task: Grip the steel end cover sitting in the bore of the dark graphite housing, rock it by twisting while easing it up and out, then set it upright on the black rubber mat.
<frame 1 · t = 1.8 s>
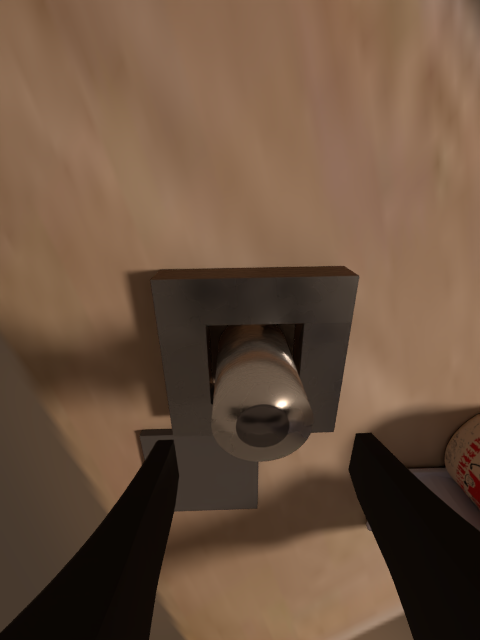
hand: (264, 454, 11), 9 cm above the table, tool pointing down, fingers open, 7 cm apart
housing: (252, 348, 19), on the table
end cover: (256, 379, 16), in the housing
rubber mat: (204, 468, 24), on the table
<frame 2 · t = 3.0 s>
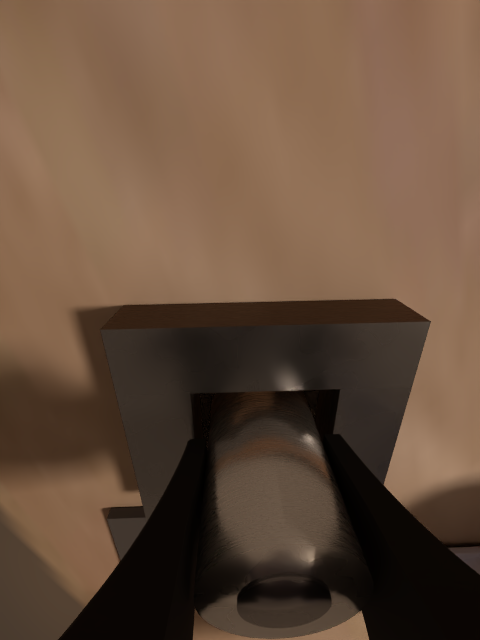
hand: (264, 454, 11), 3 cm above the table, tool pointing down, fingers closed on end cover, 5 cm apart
housing: (259, 409, 14), on the table
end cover: (267, 476, 10), in the housing, touching gripper
rubber mat: (195, 549, 18), on the table
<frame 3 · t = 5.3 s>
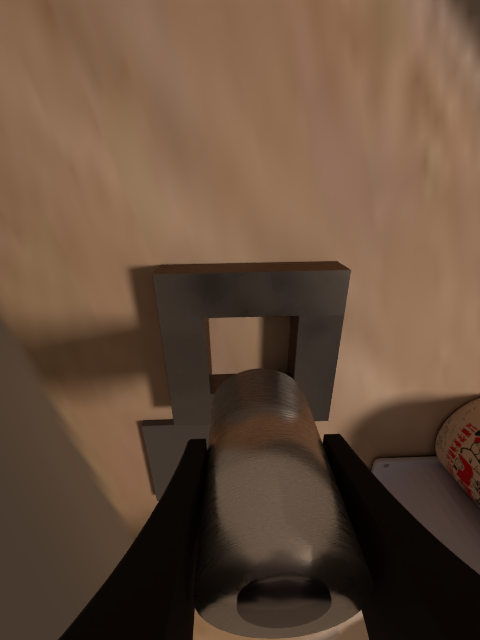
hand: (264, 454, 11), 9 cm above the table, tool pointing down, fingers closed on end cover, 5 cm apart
housing: (249, 340, 20), on the table
teacup with lid: (478, 443, 25), on the table, touching arm
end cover: (267, 476, 10), point 10 cm above the table, touching gripper
rubber mat: (203, 458, 24), on the table
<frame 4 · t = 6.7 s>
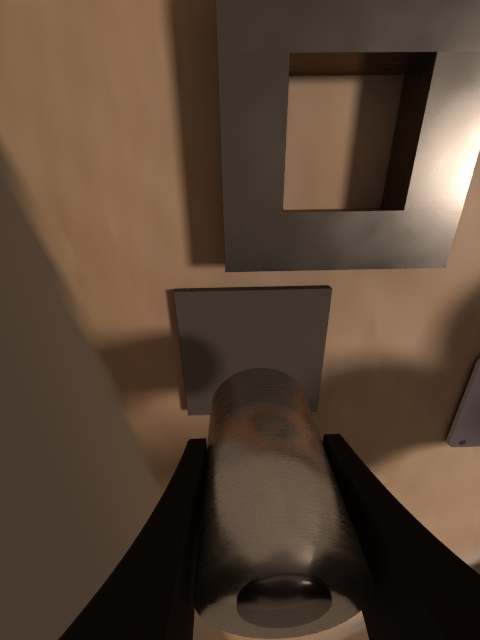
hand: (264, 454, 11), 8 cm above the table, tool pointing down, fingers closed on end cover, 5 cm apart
housing: (335, 147, 14), on the table
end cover: (267, 475, 10), point 9 cm above the table, touching gripper
rubber mat: (252, 353, 18), on the table
when the fingers open (5 cm above the table, at t = 7.6 s): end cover drops 2 cm, resting on rubber mat.
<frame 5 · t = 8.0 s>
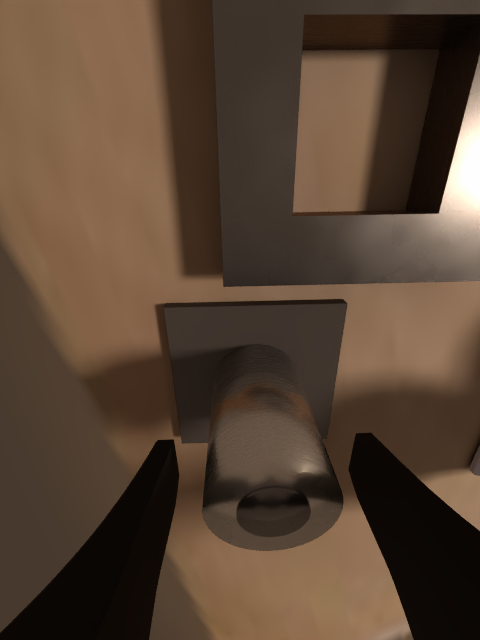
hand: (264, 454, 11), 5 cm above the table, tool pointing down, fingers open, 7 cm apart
housing: (354, 138, 12), on the table
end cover: (262, 429, 12), on the rubber mat, point 4 cm above the table
rubber mat: (254, 374, 16), on the table
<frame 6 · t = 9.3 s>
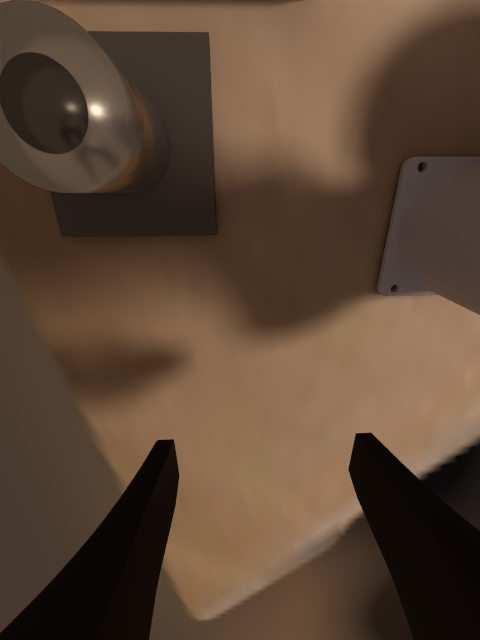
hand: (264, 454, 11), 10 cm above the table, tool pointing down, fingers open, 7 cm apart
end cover: (96, 131, 11), on the rubber mat, point 4 cm above the table
rubber mat: (130, 147, 15), on the table
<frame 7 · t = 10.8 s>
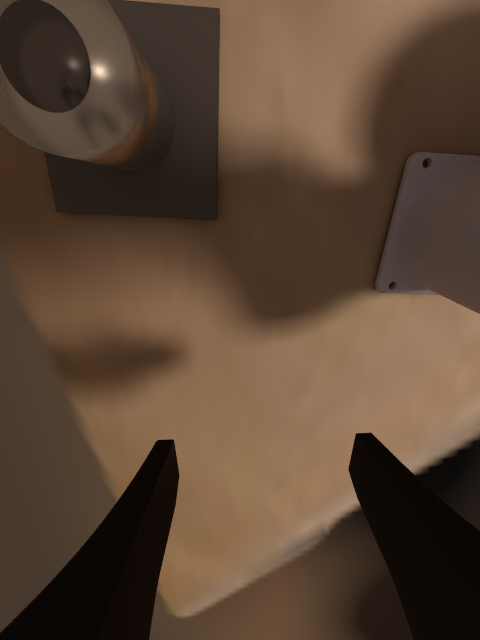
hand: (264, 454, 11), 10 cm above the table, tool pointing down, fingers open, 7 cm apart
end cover: (98, 98, 11), on the rubber mat, point 4 cm above the table
rubber mat: (132, 124, 15), on the table
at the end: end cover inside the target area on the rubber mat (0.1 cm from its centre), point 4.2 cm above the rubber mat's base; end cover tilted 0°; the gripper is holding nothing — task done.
